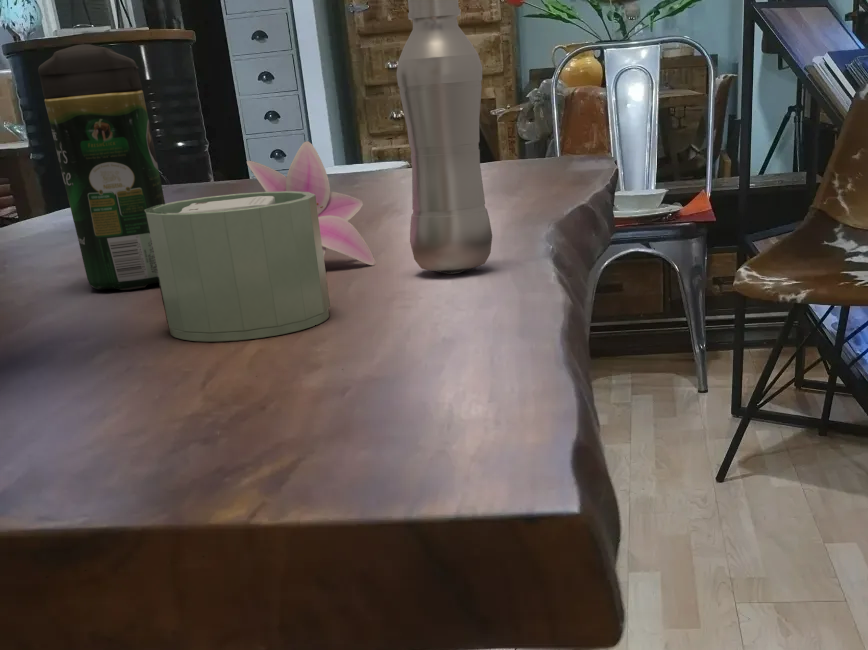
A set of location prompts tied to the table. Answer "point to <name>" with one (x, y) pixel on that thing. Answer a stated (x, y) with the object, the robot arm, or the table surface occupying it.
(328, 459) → the table surface
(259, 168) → the lily
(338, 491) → the table surface
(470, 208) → the plastic bottle
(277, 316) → the green flower pot
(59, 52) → the coffee jar
